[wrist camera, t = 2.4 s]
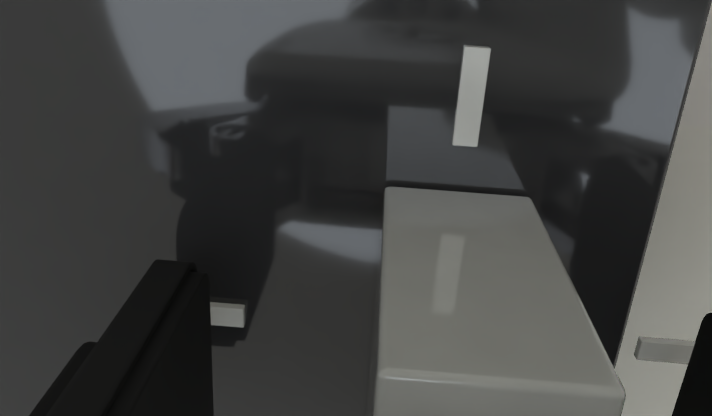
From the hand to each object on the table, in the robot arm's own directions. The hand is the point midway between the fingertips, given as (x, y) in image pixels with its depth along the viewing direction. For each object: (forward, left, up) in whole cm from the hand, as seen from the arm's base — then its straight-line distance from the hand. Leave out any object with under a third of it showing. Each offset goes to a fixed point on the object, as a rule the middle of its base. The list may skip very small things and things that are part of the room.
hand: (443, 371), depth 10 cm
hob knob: (0, 0, -1) cm, 1 cm away
